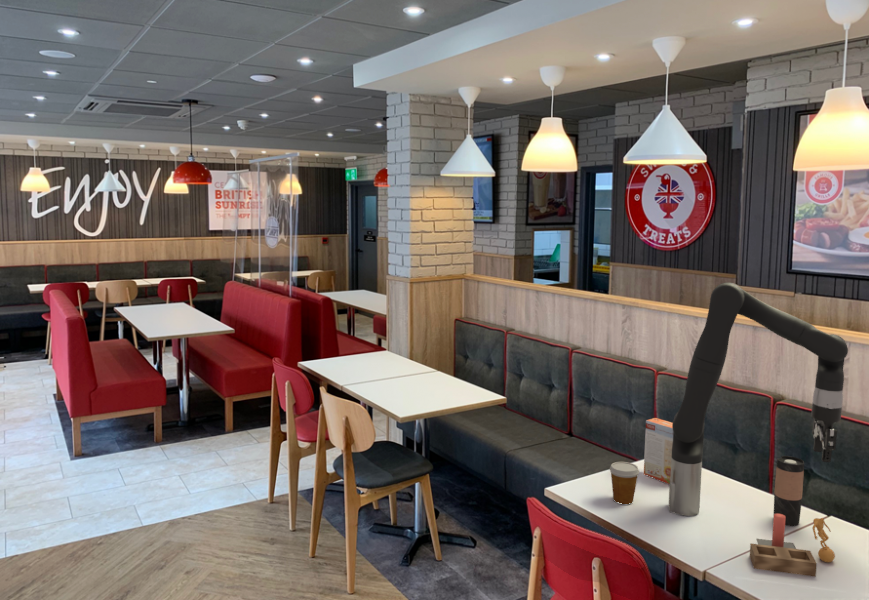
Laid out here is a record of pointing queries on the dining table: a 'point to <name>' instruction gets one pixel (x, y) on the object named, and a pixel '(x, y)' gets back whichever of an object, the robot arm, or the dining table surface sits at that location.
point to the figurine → (823, 541)
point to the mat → (769, 543)
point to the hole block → (783, 559)
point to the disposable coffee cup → (623, 481)
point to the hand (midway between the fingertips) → (821, 456)
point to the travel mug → (789, 489)
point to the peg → (778, 530)
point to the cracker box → (658, 449)
